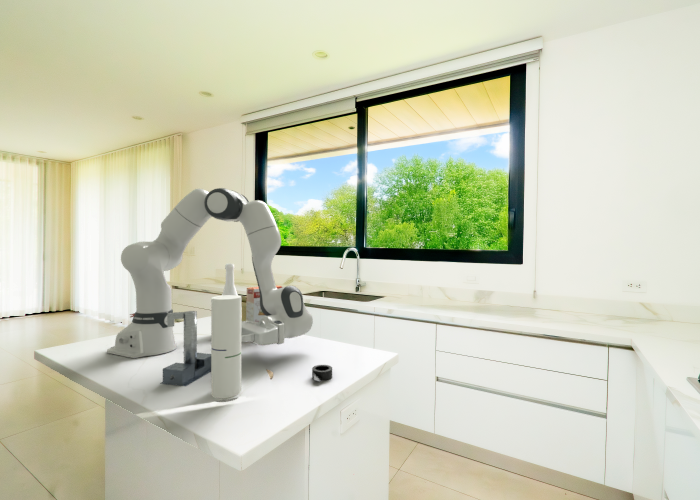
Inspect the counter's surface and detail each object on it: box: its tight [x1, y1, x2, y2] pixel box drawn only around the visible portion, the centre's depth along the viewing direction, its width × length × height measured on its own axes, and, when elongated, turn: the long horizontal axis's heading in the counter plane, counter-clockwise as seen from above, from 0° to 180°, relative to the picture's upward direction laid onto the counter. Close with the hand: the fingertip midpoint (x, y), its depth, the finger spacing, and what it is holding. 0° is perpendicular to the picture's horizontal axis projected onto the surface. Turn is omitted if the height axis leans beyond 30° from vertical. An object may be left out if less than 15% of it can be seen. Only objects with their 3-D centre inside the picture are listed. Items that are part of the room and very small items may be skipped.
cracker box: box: [245, 284, 283, 322], centre depth 144 cm, size 14×6×21 cm, turn 138°
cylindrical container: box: [210, 294, 242, 403], centre depth 88 cm, size 7×7×25 cm
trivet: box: [265, 368, 274, 380], centre depth 100 cm, size 11×11×1 cm
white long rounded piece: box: [221, 263, 243, 321], centre depth 147 cm, size 10×10×30 cm
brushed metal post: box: [167, 310, 198, 369], centre depth 98 cm, size 7×3×18 cm, turn 112°
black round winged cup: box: [311, 364, 333, 383], centre depth 101 cm, size 8×10×3 cm
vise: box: [159, 352, 211, 387], centre depth 99 cm, size 14×8×5 cm, turn 167°
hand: (230, 336), depth 107 cm, fingers open, 8 cm apart
